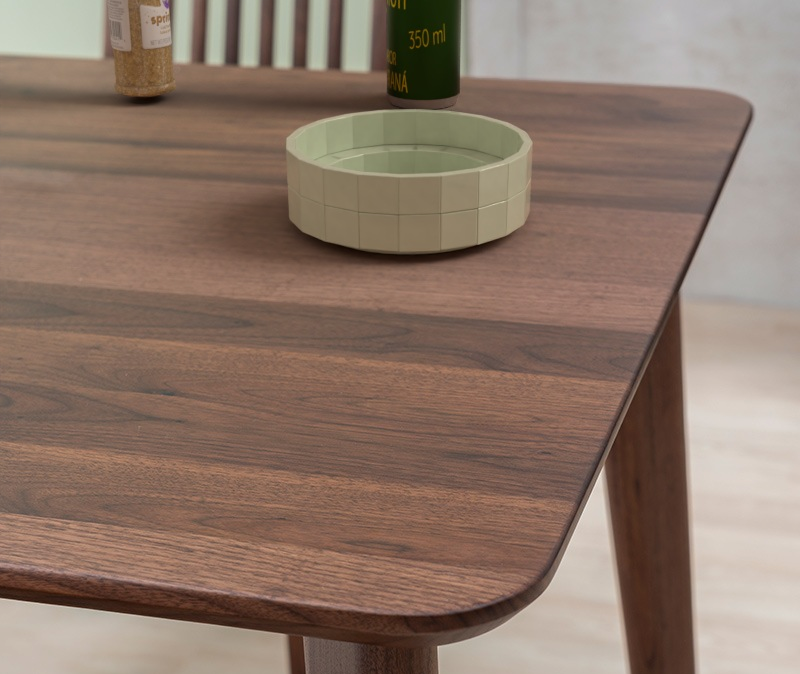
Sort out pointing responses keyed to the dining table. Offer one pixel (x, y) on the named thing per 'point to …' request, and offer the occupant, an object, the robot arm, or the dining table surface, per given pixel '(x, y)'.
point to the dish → (409, 180)
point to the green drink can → (423, 53)
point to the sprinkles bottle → (141, 47)
